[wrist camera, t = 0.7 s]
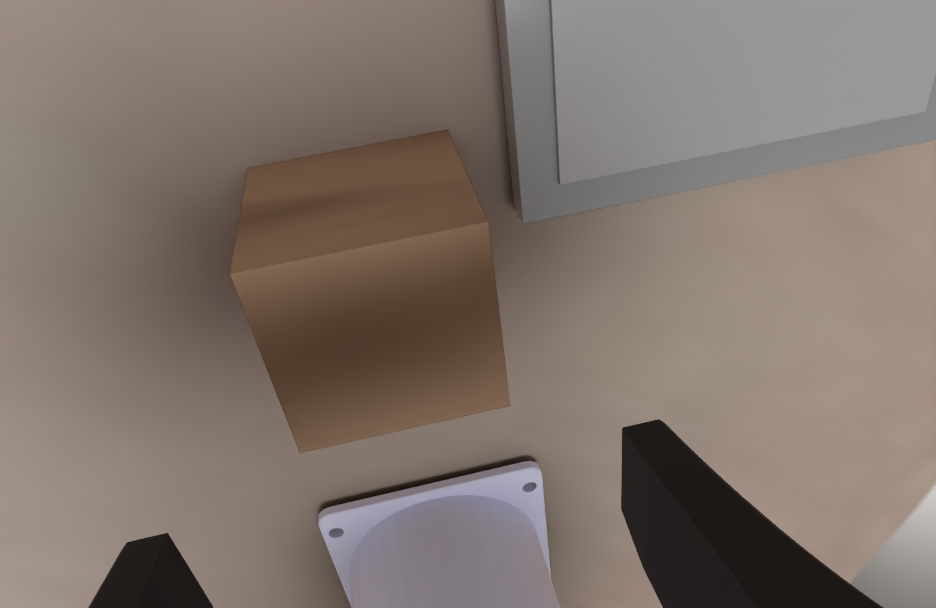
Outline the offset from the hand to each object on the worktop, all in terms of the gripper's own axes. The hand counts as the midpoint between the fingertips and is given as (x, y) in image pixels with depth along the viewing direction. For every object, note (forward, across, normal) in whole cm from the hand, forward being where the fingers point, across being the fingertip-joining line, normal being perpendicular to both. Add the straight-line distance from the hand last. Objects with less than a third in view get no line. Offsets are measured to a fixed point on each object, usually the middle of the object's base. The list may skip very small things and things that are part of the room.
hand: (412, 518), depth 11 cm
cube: (+10, 0, 0) cm, 10 cm away
